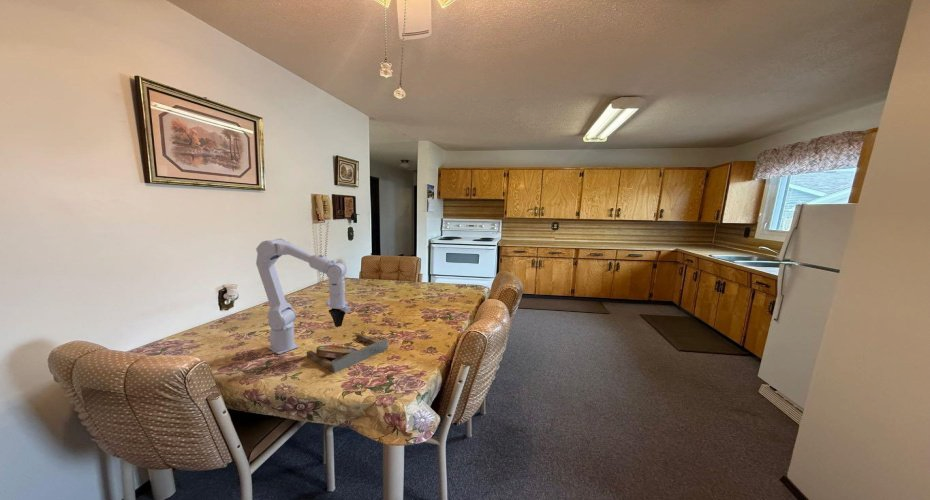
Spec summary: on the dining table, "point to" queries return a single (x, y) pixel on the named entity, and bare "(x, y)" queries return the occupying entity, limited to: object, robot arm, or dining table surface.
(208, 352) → the dining table surface
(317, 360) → the grey u-shaped bracket
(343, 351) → the tin
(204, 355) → the dining table surface
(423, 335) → the dining table surface
